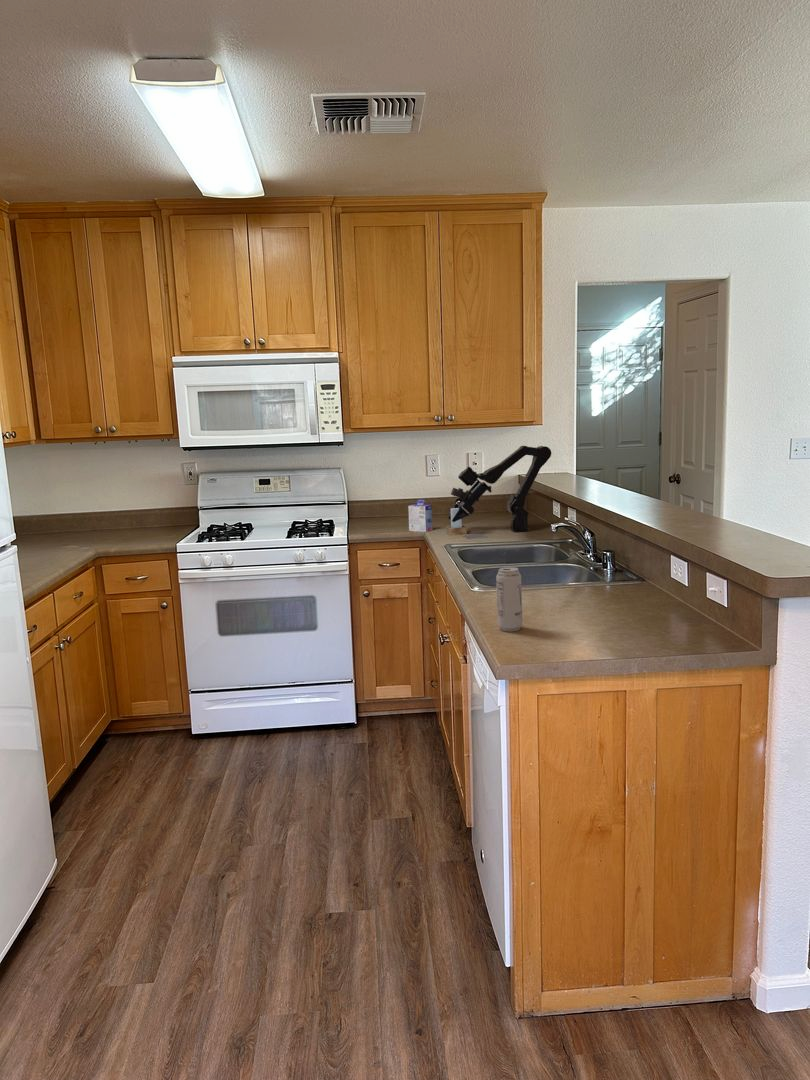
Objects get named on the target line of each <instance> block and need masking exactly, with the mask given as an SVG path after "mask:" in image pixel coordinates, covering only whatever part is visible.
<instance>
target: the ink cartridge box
mask: <svg viewBox="0 0 810 1080" xmlns="http://www.w3.org/2000/svg"><path fill="white" fill-rule="evenodd" d="M408 531H409V532H421V533H422V532H423V533H428V532H432V531H434V530H433V509H432V504H425V499H418V500H417V502H416V504H410V505H408Z"/></svg>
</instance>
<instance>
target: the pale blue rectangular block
mask: <svg viewBox="0 0 810 1080" xmlns="http://www.w3.org/2000/svg"><path fill="white" fill-rule="evenodd" d="M458 510H459V509H458V508H454V507H452V508H450V514H451V519H450V526H451V528H462V524H463V523H462V519H460V520H457V521H455V522H453V521H452V519H453V518H454V516H455V515H456V513H457V512H458Z"/></svg>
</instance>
